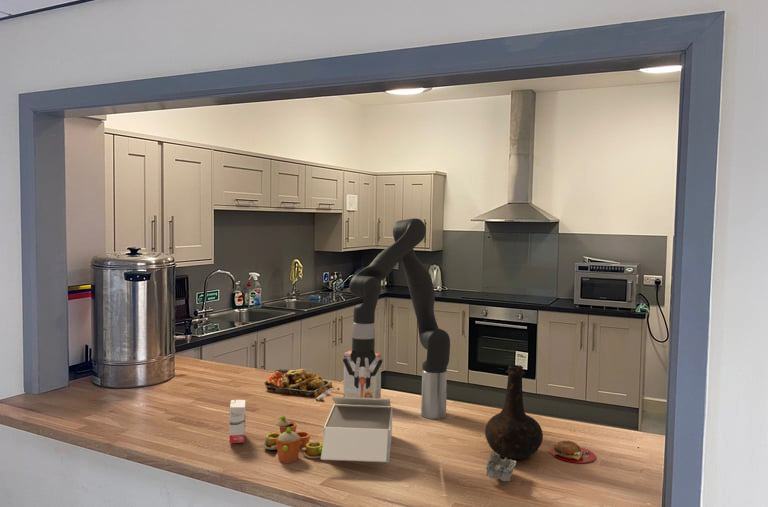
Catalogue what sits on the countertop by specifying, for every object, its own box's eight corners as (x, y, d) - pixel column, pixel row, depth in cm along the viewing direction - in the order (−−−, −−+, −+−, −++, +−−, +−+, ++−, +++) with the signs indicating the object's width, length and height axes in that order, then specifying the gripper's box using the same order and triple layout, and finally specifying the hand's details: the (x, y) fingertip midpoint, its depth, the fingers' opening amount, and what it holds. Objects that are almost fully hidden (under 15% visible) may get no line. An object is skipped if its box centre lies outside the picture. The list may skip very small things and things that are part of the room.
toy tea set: (331, 458, 171) (332, 427, 171) (285, 469, 162) (285, 436, 162) (294, 431, 192) (294, 404, 192) (251, 440, 184) (251, 411, 183)
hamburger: (592, 467, 168) (592, 448, 168) (545, 457, 175) (545, 438, 175) (598, 452, 181) (599, 433, 180) (554, 443, 188) (555, 425, 187)
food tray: (246, 394, 235) (246, 368, 235) (277, 379, 259) (278, 356, 259) (320, 404, 223) (321, 378, 223) (346, 388, 247) (347, 364, 247)
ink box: (244, 442, 181) (245, 406, 180) (229, 443, 180) (229, 407, 179) (245, 433, 189) (245, 398, 189) (230, 434, 188) (230, 399, 188)
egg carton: (491, 463, 167) (492, 450, 167) (516, 470, 164) (518, 456, 164) (482, 476, 157) (484, 462, 157) (509, 484, 154) (511, 469, 154)
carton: (391, 435, 190) (392, 406, 189) (388, 475, 159) (388, 440, 159) (333, 433, 191) (333, 404, 190) (318, 472, 160) (318, 438, 160)
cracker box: (380, 404, 223) (382, 352, 222) (375, 409, 217) (376, 356, 216) (349, 400, 228) (350, 349, 227) (342, 404, 222) (343, 352, 221)
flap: (390, 406, 189) (391, 383, 193) (389, 400, 180) (390, 376, 183) (335, 404, 190) (337, 381, 193) (331, 398, 181) (333, 374, 184)
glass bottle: (509, 469, 165) (512, 376, 163) (473, 448, 180) (475, 362, 179) (554, 459, 173) (557, 370, 172) (515, 439, 189) (518, 357, 187)
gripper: (385, 335, 188) (383, 386, 189) (343, 333, 189) (342, 384, 189) (384, 338, 181) (382, 391, 181) (341, 337, 182) (339, 390, 182)
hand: (362, 387), depth 185 cm, fingers closed on flap, 2 cm apart
